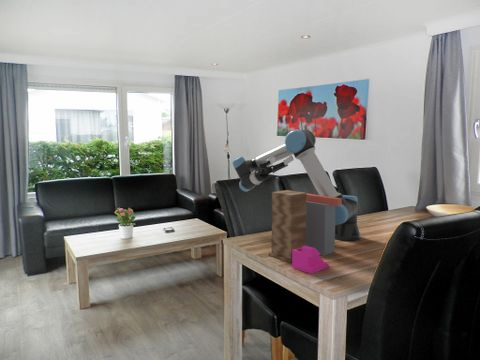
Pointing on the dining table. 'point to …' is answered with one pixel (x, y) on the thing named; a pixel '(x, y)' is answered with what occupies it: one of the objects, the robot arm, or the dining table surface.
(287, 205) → the tower
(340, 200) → the lever bar
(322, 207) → the block
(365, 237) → the dining table surface
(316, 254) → the bracket
